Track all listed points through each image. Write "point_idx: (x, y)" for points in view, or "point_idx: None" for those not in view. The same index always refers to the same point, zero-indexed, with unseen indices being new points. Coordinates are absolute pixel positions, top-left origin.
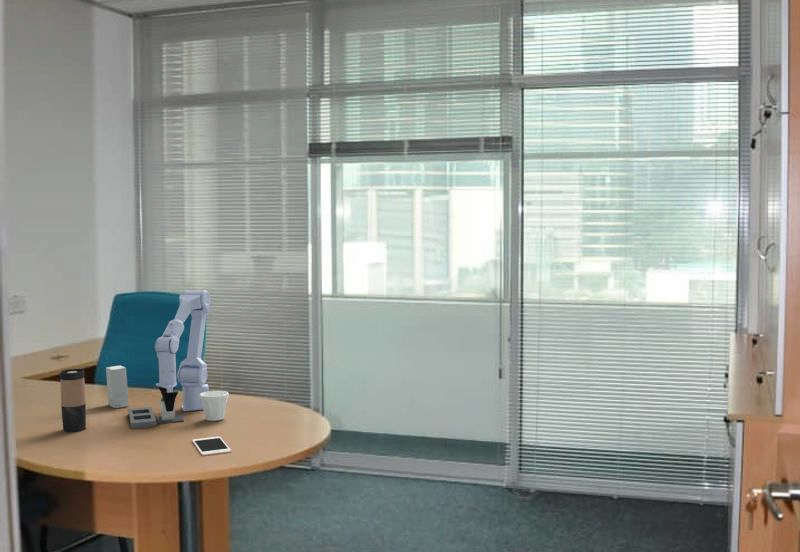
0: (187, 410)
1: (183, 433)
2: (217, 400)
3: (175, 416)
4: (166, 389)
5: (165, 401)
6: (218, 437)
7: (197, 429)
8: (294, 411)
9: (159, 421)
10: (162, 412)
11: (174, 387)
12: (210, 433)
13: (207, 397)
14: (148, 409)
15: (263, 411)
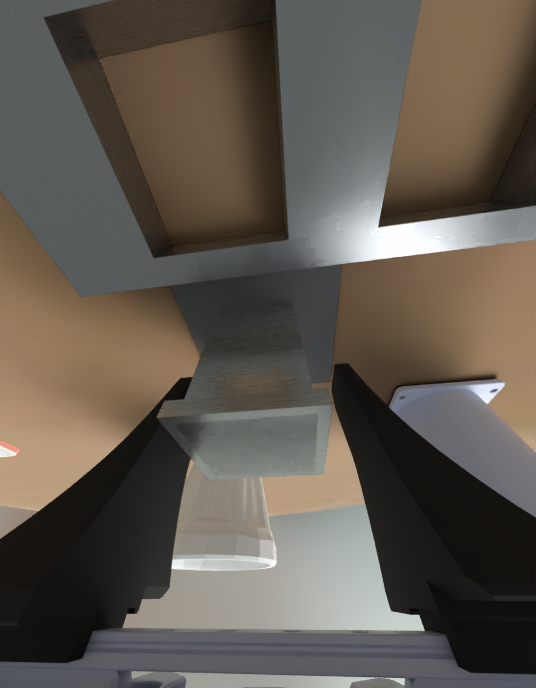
0: (393, 398)
1: (24, 388)
2: None
3: None
4: (405, 554)
5: (114, 455)
6: (2, 454)
7: (99, 418)
8: (267, 510)
9: (206, 298)
10: (208, 346)
11: (386, 588)
12: (61, 439)
13: None
14: (526, 206)
15: (285, 493)
